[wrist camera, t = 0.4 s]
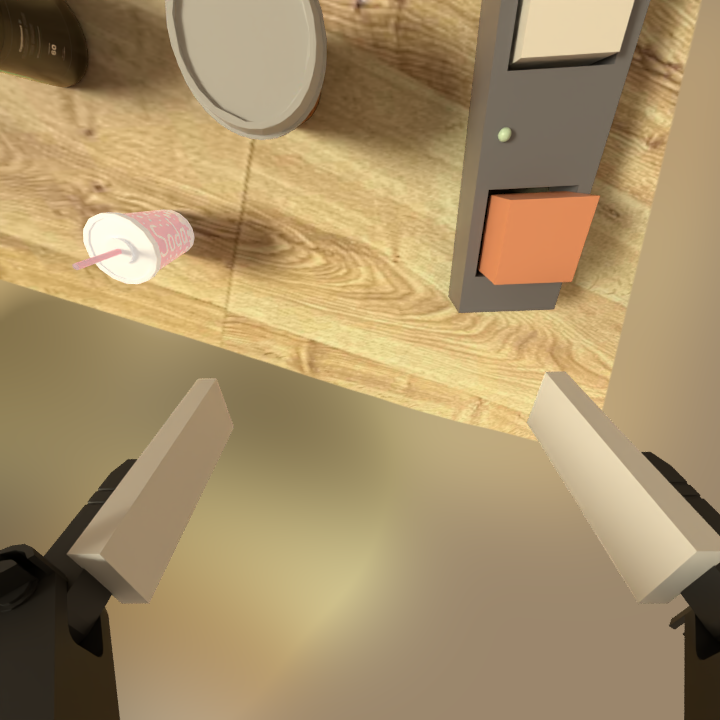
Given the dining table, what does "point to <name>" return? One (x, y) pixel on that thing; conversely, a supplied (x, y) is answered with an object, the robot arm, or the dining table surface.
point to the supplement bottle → (41, 42)
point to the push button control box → (529, 144)
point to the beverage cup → (135, 243)
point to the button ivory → (567, 32)
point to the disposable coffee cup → (251, 60)
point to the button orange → (535, 236)
